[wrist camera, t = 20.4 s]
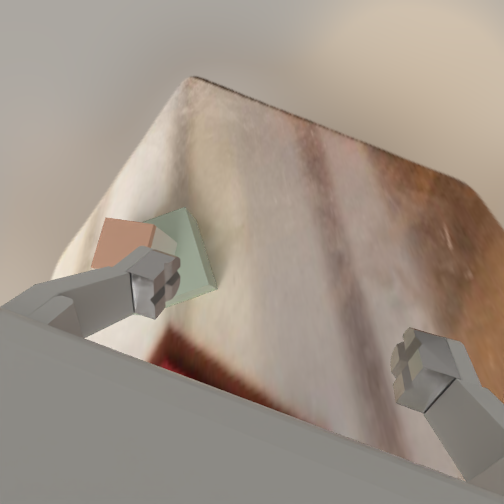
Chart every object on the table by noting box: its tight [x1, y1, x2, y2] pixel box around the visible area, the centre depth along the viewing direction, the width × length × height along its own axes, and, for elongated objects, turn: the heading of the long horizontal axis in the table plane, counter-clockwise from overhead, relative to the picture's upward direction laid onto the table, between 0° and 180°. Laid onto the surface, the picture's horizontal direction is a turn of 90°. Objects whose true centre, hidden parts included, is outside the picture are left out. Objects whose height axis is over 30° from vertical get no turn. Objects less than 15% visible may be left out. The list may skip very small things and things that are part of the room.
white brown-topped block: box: [91, 218, 177, 269], centre depth 37 cm, size 6×6×8 cm
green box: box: [133, 207, 218, 315], centre depth 43 cm, size 12×12×6 cm
